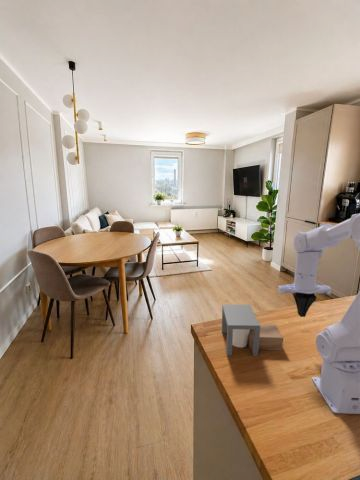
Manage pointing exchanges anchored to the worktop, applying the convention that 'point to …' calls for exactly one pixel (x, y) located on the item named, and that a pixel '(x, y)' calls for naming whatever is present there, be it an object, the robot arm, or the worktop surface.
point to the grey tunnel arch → (240, 324)
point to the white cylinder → (240, 337)
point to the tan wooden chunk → (267, 337)
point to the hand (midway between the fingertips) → (301, 315)
